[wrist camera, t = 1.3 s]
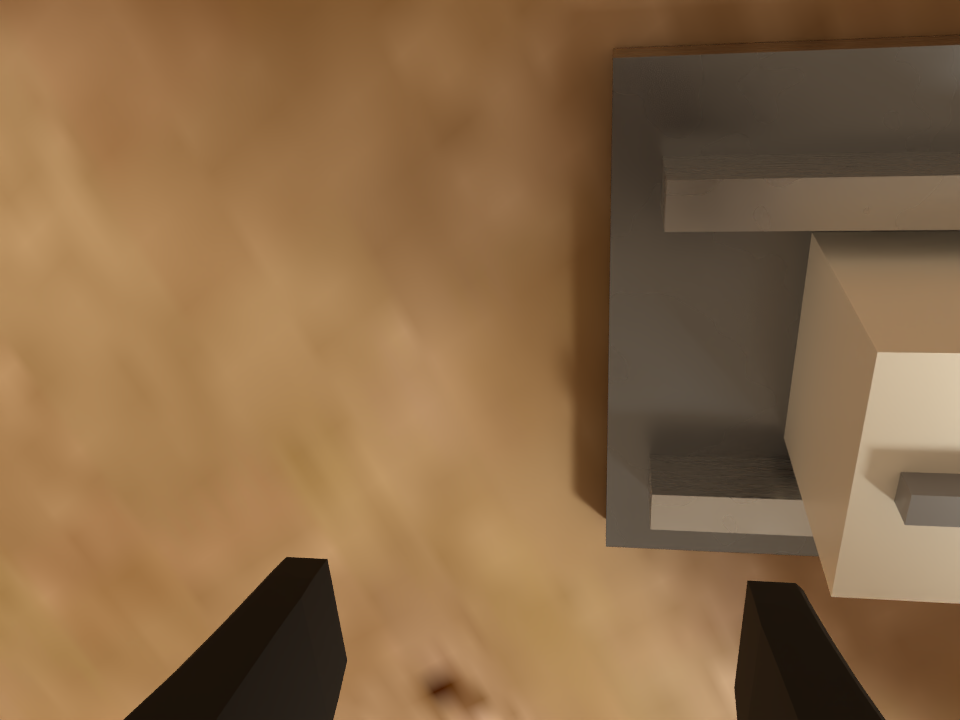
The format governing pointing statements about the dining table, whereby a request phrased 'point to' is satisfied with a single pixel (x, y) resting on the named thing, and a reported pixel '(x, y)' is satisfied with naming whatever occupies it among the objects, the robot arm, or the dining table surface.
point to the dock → (747, 259)
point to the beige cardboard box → (880, 412)
